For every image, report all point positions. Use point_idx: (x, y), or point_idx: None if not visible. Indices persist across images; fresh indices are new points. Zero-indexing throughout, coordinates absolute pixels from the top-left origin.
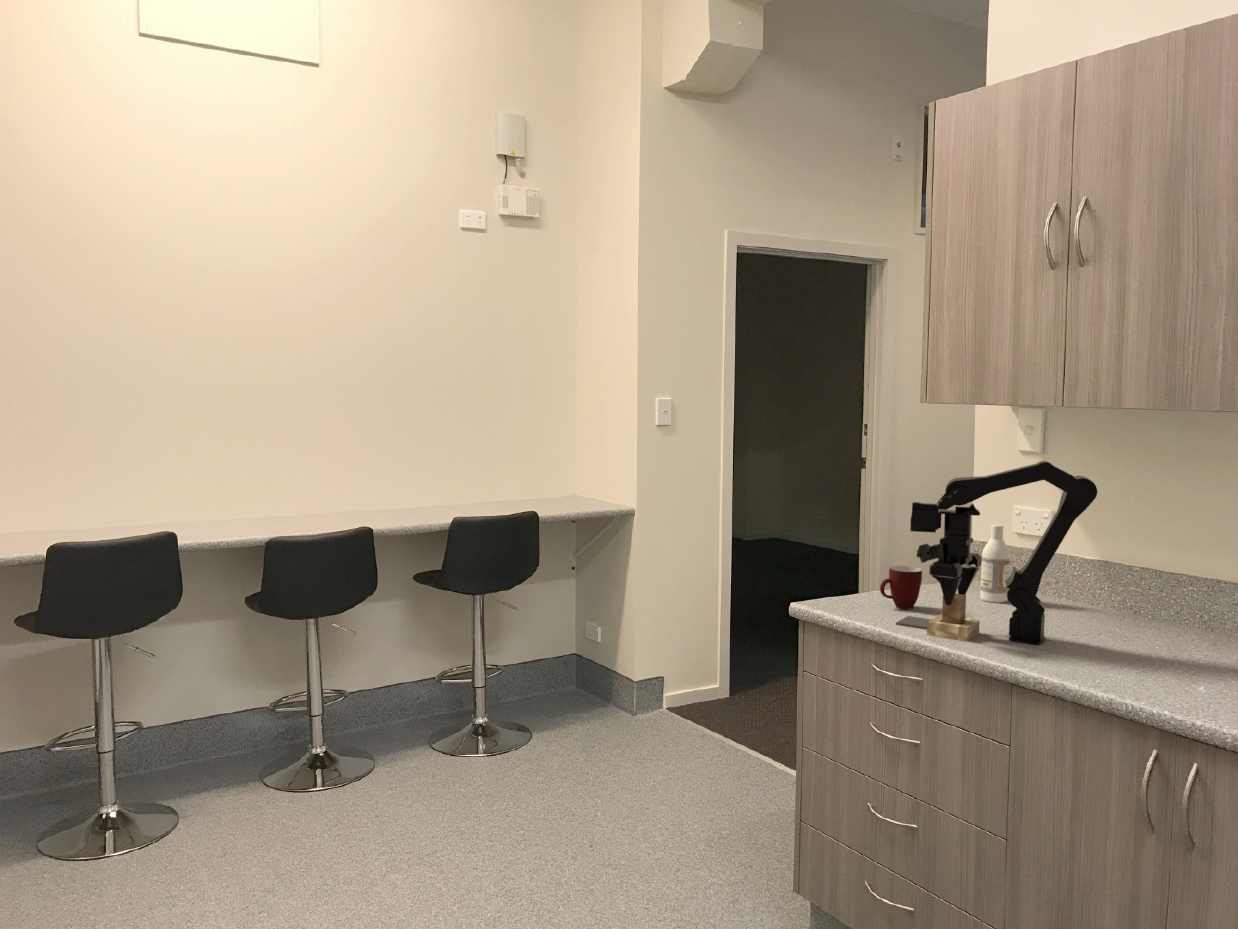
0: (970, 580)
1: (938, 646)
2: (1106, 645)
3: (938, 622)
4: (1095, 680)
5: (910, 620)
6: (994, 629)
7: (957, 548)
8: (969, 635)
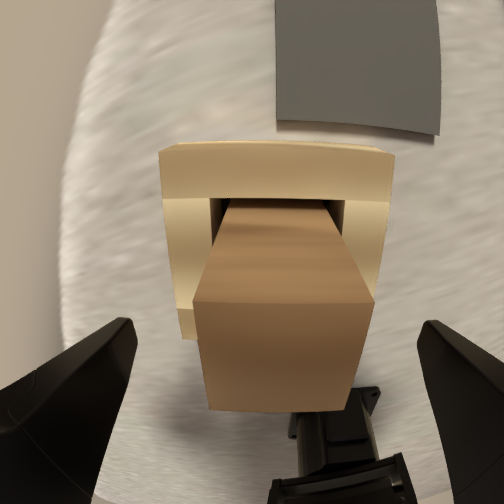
0: (450, 473)
1: (66, 245)
2: None
3: (186, 206)
4: (131, 472)
5: (361, 5)
6: None
7: None
8: None
